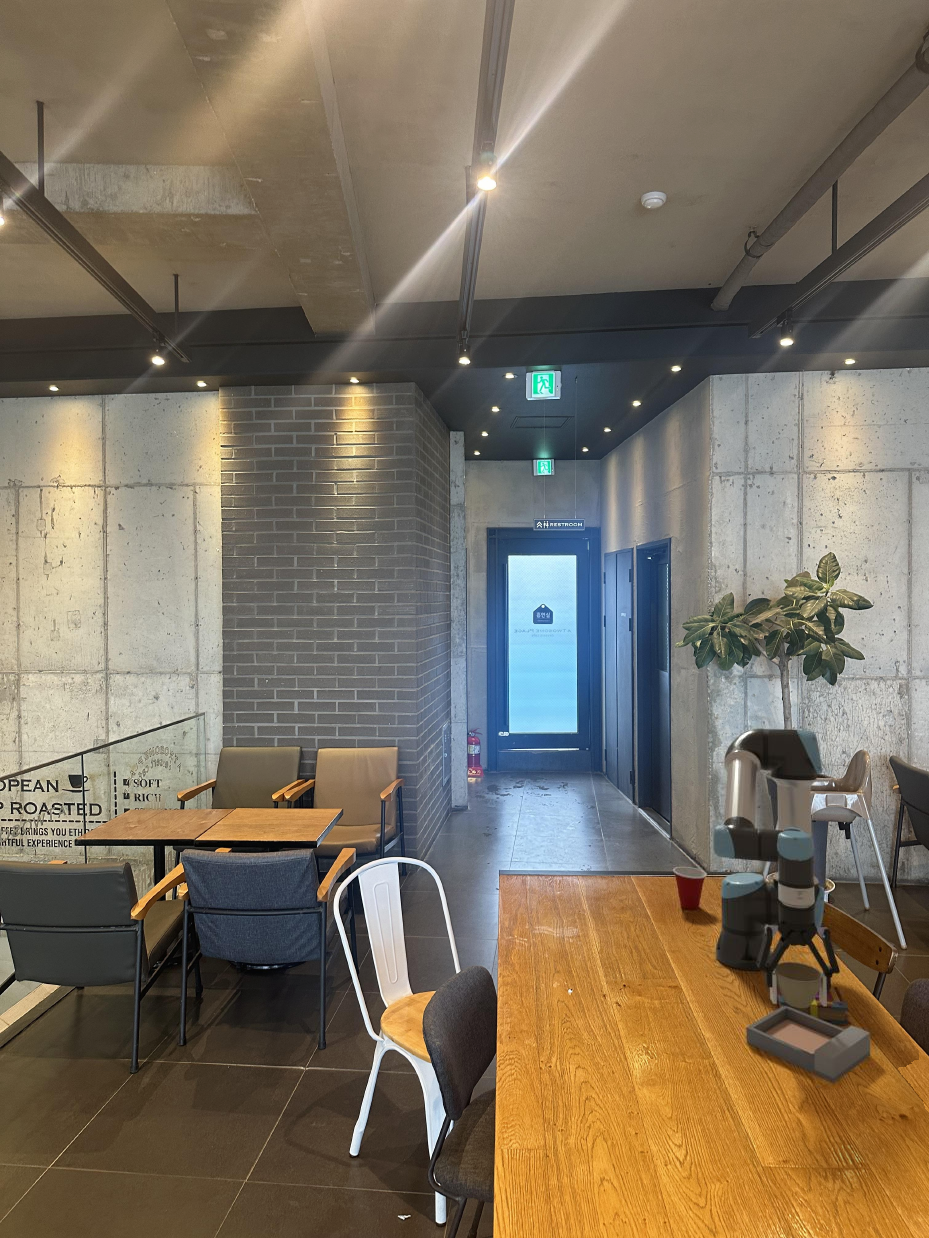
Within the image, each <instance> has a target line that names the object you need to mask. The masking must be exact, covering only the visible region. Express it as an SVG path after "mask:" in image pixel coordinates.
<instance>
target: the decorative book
mask: <svg viewBox="0 0 929 1238" xmlns="http://www.w3.org/2000/svg"><path fill="white" fill-rule="evenodd" d="M776 984H777V982H776ZM784 1005H786V1006H788V1007H791V1008H793V1009H796V1010H798V1011H801V1012H803V1013H806V1014H808V1015H810V1016H813V1017H815V1018H818V1019H820V1020H823V1021H825V1022H828V1023H830V1024H833V1025H841V1026H849V1025H851V1024H852V1023H851V1021H850V1020H849V1019H848V1014H847V1013H850V1012H849V1007H848V1005H847V1003H846V1001H845V1000H844V999H843V997H842V994H841V993H840V991H839V989H838V987H837V986H831V989H830V990H827V1006H823V1005H822V1004H821V1002H820V1001H819V991H818V993H817V995H816V997H815V999H814V1001H813V1002H812V1004H811V1005H810V1006H809V1007H807V1008H796V1007H793V1006H790V1005H789V1004H787V1003H786V1001H785V1000H784V998H783V996H782V994H781V992H780V990H779V988H778V985H777V1004H776V1006H777V1009H779V1008H780V1007H782V1006H784ZM846 1012H847V1013H846ZM849 1027H850V1026H849Z"/></svg>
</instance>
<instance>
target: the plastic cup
mask: <svg viewBox="0 0 929 1238" xmlns="http://www.w3.org/2000/svg"><path fill="white" fill-rule="evenodd" d="M672 871H673V873H674V877H675V881H676V886H677V892H678V893H677V894H678V899H679V903H680V907H681V908H683V909H685V910H691V911H692V910H698V909H699V907H700V902H701V897H702V892H703V886H704V883H705V878H706V877H707V875H708V874H707V872H706V871H704V870H702V869H700V868H695V867H689V866H678V867H677V866H676V867H674V868H673V870H672Z"/></svg>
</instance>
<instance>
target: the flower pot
mask: <svg viewBox="0 0 929 1238" xmlns="http://www.w3.org/2000/svg"><path fill="white" fill-rule="evenodd" d="M774 972H775V974H776V982H777V985H778V988H779V990H780V992H781V994H782V996H783V998H784V1000H785V1001H786V1003H787V1004H789V1005H790V1006H793V1007H796V1008H807V1007H809V1006H810V1005H811V1004H812V1002H813V1001H814V999H815V997H816V995H817V993H818V991H819V988H820V985H821V980H822V974H821V972H822V971H820V970H819V969H817V968H815V967H814V966H812V965H810V964H809V965H808V964H806V963H801V962H796V961H783V962H779V963H778V964H777V966H776V968H775V969H774Z"/></svg>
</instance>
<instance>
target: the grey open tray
mask: <svg viewBox="0 0 929 1238" xmlns="http://www.w3.org/2000/svg"><path fill="white" fill-rule="evenodd" d="M746 1044H748V1045H751V1046H753V1047H755V1048H757V1049H760V1050H761V1051H763V1052H766V1053H767V1054H770V1055H772V1056H774V1057H777V1058H779V1059H781V1060H783V1061H785V1062H788V1063H790V1064H791V1065H794V1066H796V1067H798V1068H800V1069H802V1070H805V1071H807V1072H808V1073H811V1074H813V1075H815V1076H817V1077H819V1078H821V1079H824V1080H826V1081H828V1082H830V1083H833V1084H834V1083H836V1082H837V1081H838V1080H839V1079H841V1078H842V1077H843V1076H845V1075H847V1074H848V1073H850V1071H852V1070H853V1069H855V1068H856V1067H857V1066H858V1065H860V1064H862V1063H863V1062H864V1061H865V1060H866V1059H867V1058H869V1057H870V1056H871V1033H870V1031H867V1030H864V1029H861V1028H859V1027H857V1026H854V1025H851V1024H850V1026H849V1027H847V1028H846V1029H845V1028H843V1027H840V1026H837V1025H836V1024H831V1023H828V1022H825V1021H823V1020H820V1019H818V1018H815V1017H813V1016H810V1015H808V1014H806V1013H803V1012H801V1011H798V1010H796V1009H793V1008H791V1007H788V1006H786V1005H784V1006H782V1007H780V1008H779V1009H778V1008H777V1009H776V1010H773V1011H772V1012H770V1013H769V1014H767V1015H765V1016H763V1017H762V1018H760V1019H758V1020H756V1021H754V1022H753V1023H751V1024H749V1025H748V1026H746Z"/></svg>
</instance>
